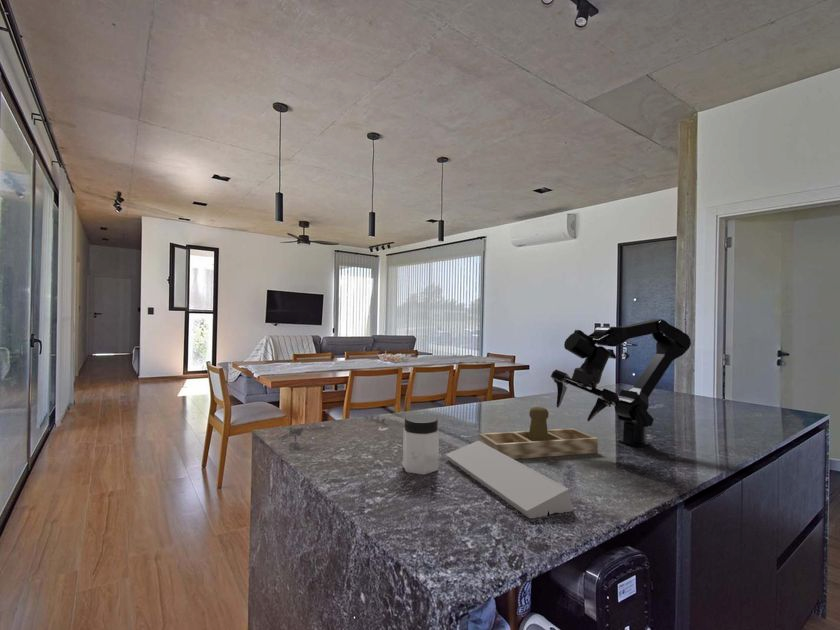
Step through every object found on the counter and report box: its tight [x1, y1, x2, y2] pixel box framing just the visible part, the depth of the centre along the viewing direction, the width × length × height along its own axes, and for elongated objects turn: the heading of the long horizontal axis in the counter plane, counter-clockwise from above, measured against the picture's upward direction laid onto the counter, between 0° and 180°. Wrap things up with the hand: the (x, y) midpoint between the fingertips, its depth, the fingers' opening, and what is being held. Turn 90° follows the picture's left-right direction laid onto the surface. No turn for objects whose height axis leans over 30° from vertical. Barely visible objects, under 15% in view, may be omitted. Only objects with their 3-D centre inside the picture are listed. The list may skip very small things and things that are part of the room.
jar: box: [402, 414, 440, 476], centre depth 102 cm, size 9×8×12 cm
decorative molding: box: [445, 440, 574, 520], centre depth 95 cm, size 34×5×10 cm
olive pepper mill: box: [528, 406, 549, 441], centre depth 119 cm, size 6×6×11 cm
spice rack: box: [478, 428, 599, 460], centre depth 119 cm, size 31×11×4 cm, turn 106°
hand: (572, 414), depth 122 cm, fingers open, 9 cm apart
